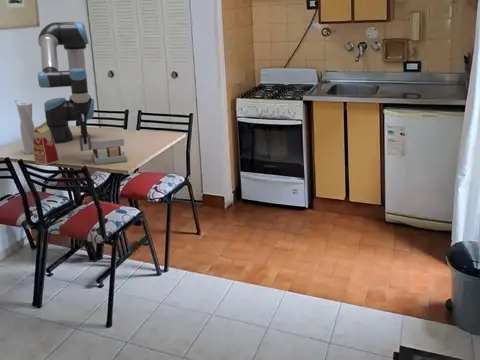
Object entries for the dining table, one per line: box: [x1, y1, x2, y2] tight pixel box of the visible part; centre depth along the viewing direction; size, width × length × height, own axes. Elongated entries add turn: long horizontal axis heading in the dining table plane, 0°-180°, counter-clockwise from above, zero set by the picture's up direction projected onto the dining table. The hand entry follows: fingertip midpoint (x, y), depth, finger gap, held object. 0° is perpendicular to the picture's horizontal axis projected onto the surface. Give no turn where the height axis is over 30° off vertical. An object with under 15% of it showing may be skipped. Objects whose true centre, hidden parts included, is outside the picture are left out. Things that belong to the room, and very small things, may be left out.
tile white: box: [97, 149, 108, 158], centre depth 278 cm, size 4×4×4 cm
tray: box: [92, 150, 128, 166], centre depth 278 cm, size 15×10×3 cm, turn 108°
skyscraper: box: [14, 99, 35, 155], centre depth 289 cm, size 8×8×28 cm
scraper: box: [78, 133, 125, 152], centre depth 276 cm, size 21×4×7 cm, turn 109°
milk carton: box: [33, 121, 60, 166], centre depth 273 cm, size 9×9×20 cm
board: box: [92, 146, 122, 158], centre depth 287 cm, size 13×11×5 cm
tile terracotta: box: [109, 148, 119, 157], centre depth 280 cm, size 4×4×4 cm
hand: (85, 148), depth 275 cm, fingers closed on scraper, 4 cm apart
